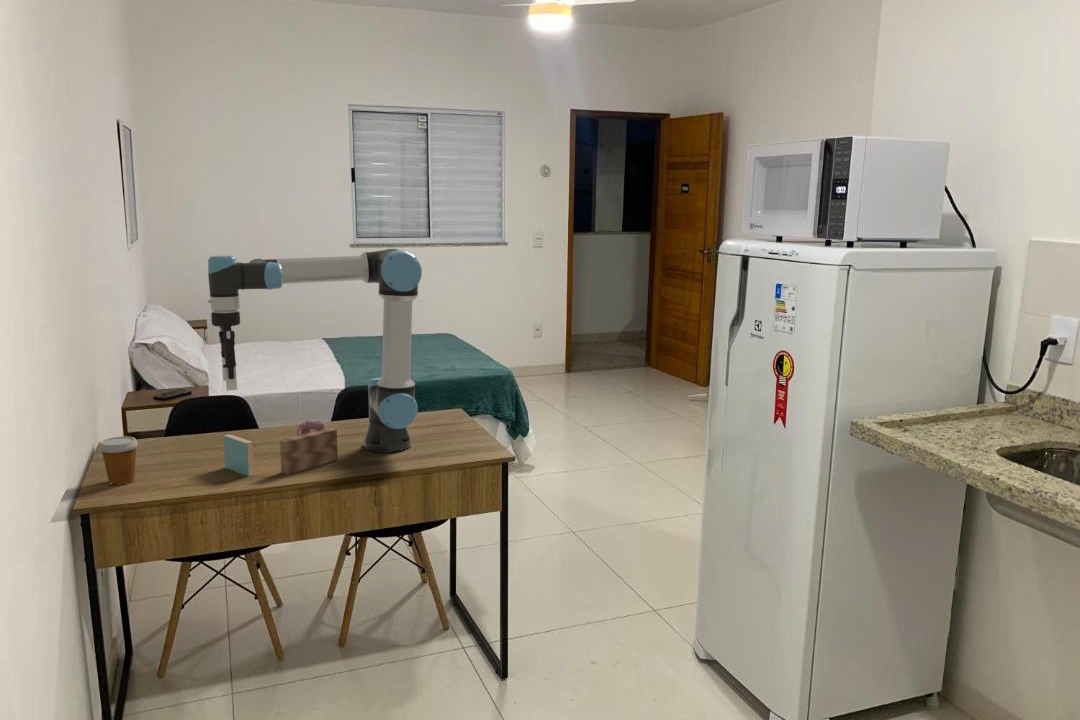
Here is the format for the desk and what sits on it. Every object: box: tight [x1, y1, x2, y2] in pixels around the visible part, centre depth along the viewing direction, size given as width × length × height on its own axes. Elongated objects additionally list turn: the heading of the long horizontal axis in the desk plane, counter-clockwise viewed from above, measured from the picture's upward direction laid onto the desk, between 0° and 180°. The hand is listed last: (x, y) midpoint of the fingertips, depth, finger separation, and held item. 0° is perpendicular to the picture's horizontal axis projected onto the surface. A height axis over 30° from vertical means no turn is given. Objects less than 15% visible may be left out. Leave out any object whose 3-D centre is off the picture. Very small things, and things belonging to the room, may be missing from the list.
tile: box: [222, 434, 255, 477], centre depth 233 cm, size 2×12×10 cm, turn 52°
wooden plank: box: [279, 427, 339, 476], centre depth 239 cm, size 18×3×10 cm, turn 142°
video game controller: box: [296, 420, 328, 436], centre depth 269 cm, size 10×5×7 cm, turn 100°
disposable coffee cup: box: [99, 436, 139, 485], centre depth 223 cm, size 10×10×12 cm
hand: (230, 385), depth 227 cm, fingers open, 13 cm apart
